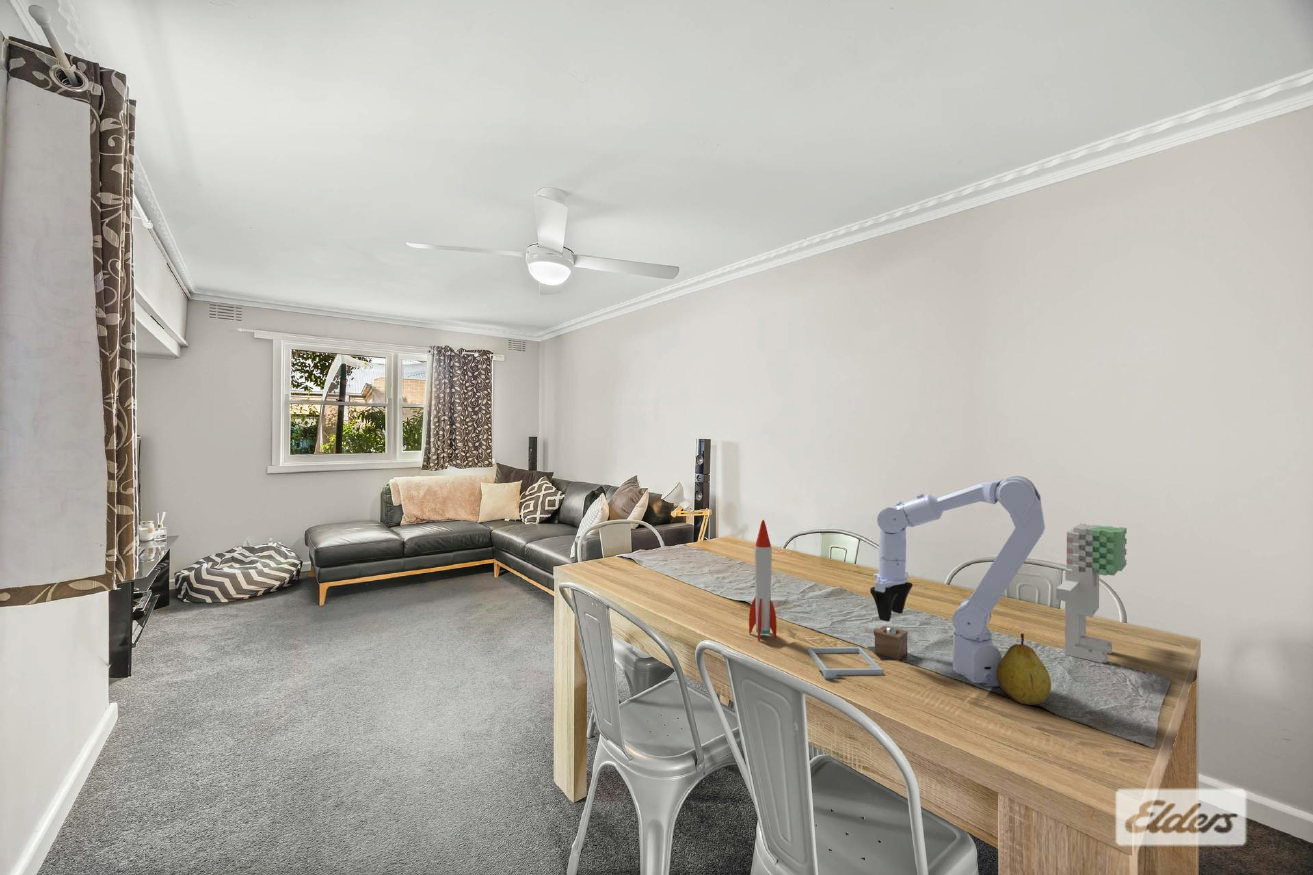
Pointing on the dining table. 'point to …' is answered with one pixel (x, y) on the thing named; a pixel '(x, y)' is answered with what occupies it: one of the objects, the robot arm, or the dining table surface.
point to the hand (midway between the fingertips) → (891, 616)
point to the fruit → (1023, 675)
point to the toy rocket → (763, 587)
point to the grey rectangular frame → (833, 672)
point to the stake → (906, 657)
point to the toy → (1088, 584)
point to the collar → (890, 643)
